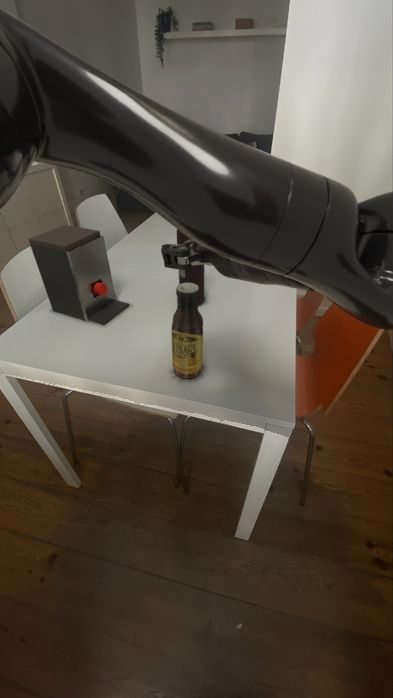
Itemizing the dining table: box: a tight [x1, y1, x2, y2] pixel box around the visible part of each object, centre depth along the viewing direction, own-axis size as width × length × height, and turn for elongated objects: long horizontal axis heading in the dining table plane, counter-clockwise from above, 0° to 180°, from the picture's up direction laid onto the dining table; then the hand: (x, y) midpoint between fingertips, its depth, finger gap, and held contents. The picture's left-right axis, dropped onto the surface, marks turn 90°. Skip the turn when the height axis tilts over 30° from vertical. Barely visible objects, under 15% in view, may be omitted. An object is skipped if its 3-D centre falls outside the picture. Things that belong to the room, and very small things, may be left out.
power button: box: [93, 282, 107, 296], centre depth 84 cm, size 2×3×3 cm, turn 153°
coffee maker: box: [27, 224, 130, 326], centre depth 84 cm, size 18×12×20 cm, turn 63°
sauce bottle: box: [171, 283, 204, 379], centre depth 62 cm, size 6×6×20 cm
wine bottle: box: [176, 228, 205, 306], centre depth 83 cm, size 7×7×30 cm
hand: (187, 245), depth 51 cm, fingers open, 8 cm apart
